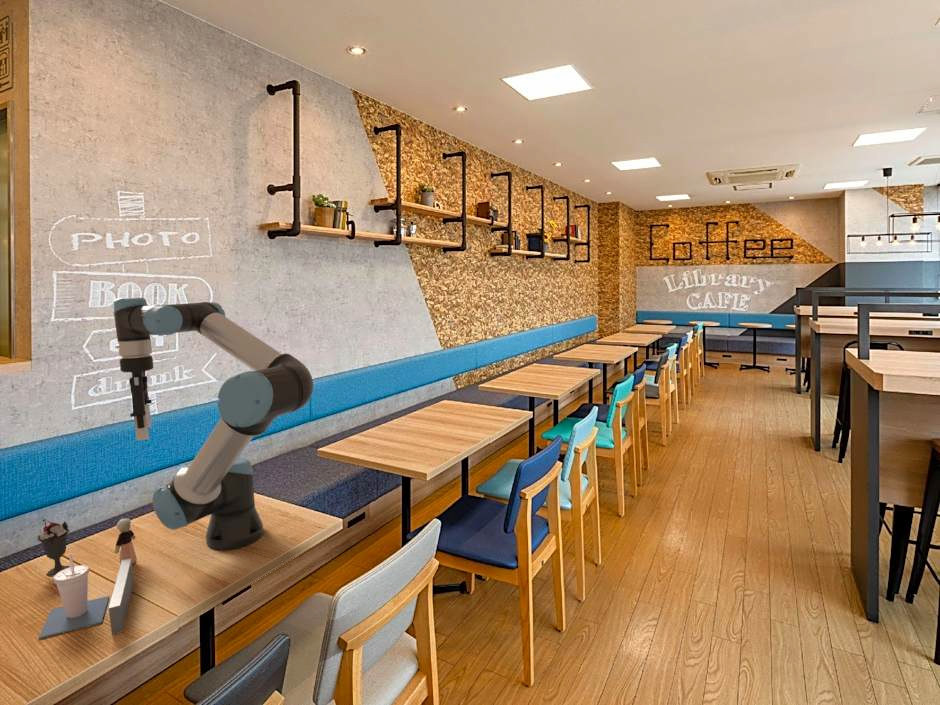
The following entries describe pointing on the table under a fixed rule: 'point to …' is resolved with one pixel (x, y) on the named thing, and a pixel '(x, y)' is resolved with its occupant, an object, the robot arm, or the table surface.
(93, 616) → the mat
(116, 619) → the divider wall
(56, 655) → the table surface
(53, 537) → the sundae
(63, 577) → the smoothie
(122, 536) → the grandmother figurine
